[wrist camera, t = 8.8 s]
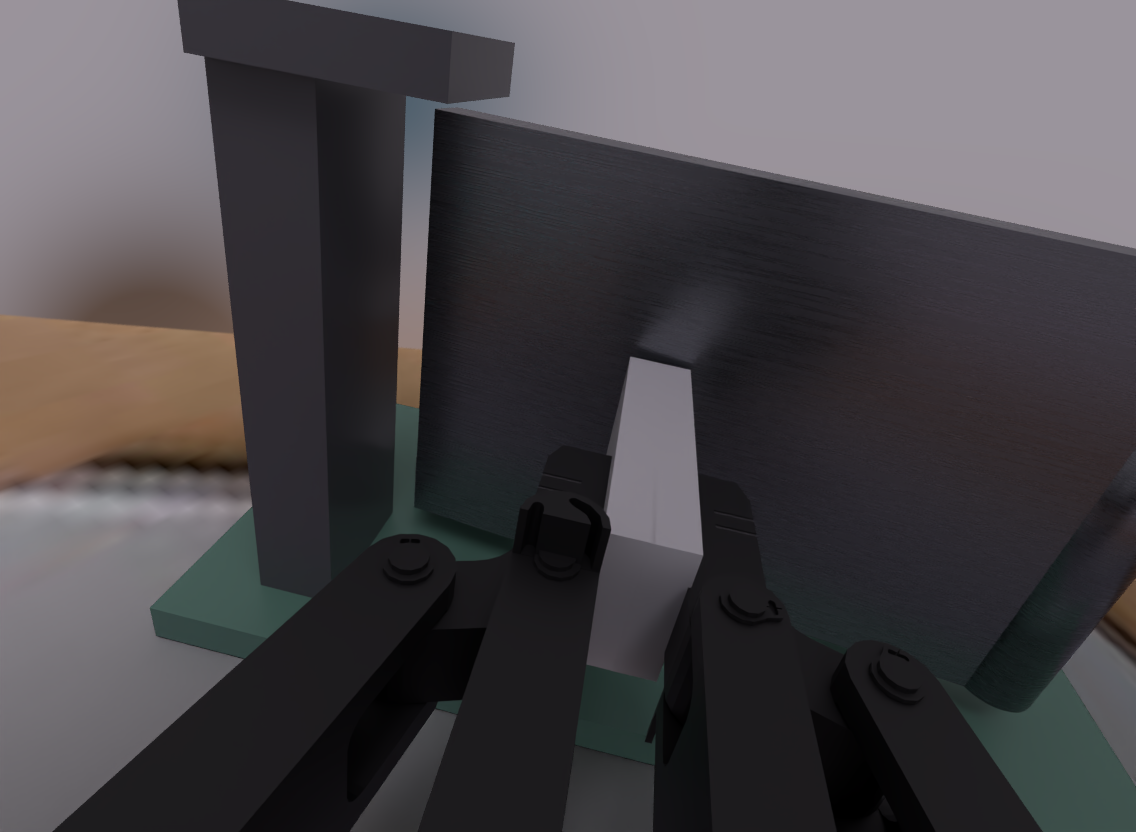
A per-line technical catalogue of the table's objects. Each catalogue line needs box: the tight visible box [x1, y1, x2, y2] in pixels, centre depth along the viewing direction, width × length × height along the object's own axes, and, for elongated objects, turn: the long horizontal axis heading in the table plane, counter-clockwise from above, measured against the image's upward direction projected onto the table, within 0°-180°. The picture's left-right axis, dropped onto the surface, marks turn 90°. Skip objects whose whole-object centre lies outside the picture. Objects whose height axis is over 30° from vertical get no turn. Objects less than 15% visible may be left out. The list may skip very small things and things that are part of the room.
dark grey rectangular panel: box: [414, 108, 1136, 713], centre depth 16 cm, size 18×2×11 cm, turn 74°
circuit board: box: [150, 404, 1136, 832], centre depth 20 cm, size 25×12×1 cm, turn 81°
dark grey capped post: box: [178, 0, 515, 598], centre depth 15 cm, size 4×4×14 cm
